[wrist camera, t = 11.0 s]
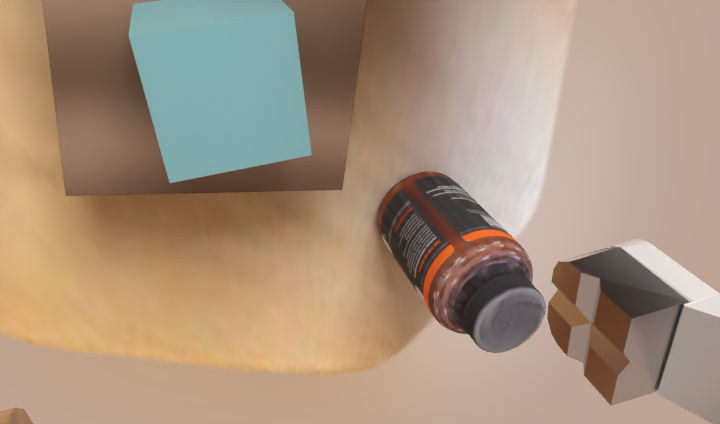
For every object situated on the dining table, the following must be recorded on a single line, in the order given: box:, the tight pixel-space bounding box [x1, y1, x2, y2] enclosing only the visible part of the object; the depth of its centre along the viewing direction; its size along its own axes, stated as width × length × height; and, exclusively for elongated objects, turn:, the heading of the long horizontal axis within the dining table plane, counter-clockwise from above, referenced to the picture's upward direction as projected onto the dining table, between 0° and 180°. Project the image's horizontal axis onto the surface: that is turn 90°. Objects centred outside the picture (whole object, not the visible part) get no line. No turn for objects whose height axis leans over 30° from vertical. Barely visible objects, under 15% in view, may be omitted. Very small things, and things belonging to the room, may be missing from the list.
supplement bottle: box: [378, 172, 546, 353], centre depth 32 cm, size 6×6×11 cm
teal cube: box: [129, 0, 312, 183], centre depth 21 cm, size 5×5×5 cm
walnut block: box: [43, 0, 367, 196], centre depth 25 cm, size 12×12×6 cm
